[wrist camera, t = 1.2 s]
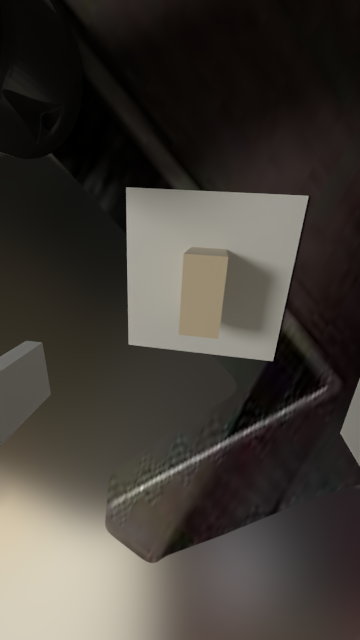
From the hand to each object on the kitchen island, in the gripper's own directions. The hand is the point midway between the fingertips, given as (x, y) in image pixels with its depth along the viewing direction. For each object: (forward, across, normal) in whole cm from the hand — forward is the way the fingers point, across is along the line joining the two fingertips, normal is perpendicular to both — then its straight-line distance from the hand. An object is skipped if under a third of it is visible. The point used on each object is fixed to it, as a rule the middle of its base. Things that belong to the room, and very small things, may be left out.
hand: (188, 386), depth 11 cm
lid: (+23, 0, 0) cm, 23 cm away
